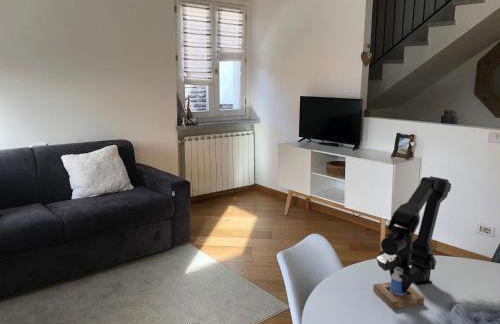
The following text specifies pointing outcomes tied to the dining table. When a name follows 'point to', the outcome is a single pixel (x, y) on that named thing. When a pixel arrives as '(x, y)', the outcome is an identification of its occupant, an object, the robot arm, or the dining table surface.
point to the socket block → (400, 301)
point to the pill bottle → (397, 283)
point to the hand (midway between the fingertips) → (398, 288)
